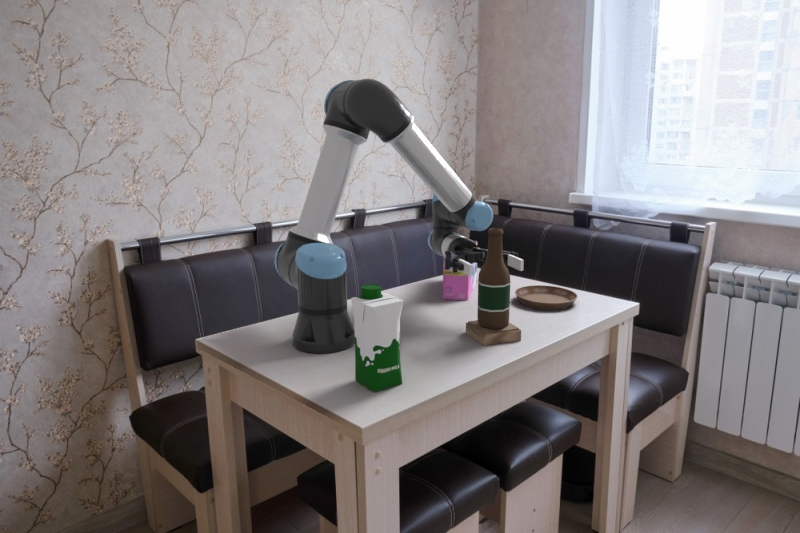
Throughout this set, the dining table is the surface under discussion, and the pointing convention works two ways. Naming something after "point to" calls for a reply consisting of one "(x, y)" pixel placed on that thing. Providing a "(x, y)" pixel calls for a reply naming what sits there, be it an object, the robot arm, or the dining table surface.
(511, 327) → the plinth
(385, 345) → the milk carton
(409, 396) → the dining table surface
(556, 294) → the plant saucer
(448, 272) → the gum box
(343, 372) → the dining table surface
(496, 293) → the beer bottle
